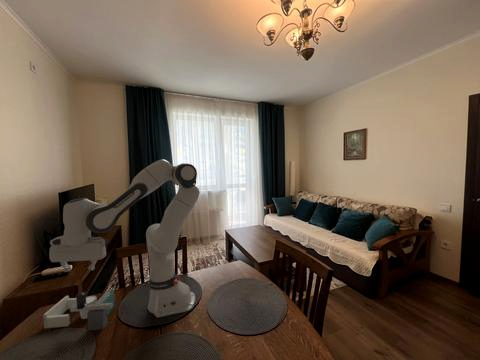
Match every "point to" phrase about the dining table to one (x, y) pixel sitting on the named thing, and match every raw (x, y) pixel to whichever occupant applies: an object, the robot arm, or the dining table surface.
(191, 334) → the dining table surface
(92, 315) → the rod housing
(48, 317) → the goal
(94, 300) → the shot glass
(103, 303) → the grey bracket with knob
